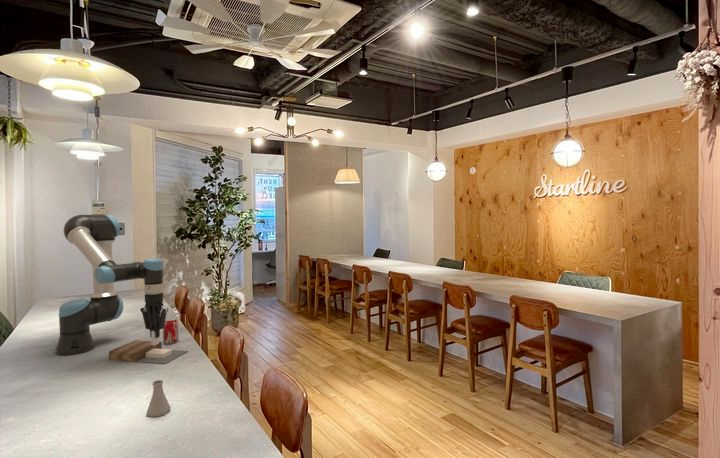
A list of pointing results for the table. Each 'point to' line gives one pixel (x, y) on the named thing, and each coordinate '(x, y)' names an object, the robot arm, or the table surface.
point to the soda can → (170, 331)
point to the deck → (132, 351)
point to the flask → (158, 401)
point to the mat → (165, 360)
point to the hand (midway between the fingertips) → (155, 344)
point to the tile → (158, 353)
